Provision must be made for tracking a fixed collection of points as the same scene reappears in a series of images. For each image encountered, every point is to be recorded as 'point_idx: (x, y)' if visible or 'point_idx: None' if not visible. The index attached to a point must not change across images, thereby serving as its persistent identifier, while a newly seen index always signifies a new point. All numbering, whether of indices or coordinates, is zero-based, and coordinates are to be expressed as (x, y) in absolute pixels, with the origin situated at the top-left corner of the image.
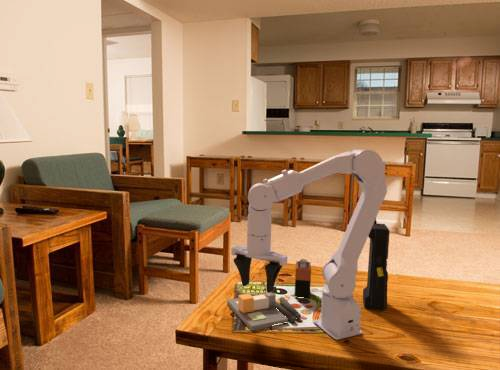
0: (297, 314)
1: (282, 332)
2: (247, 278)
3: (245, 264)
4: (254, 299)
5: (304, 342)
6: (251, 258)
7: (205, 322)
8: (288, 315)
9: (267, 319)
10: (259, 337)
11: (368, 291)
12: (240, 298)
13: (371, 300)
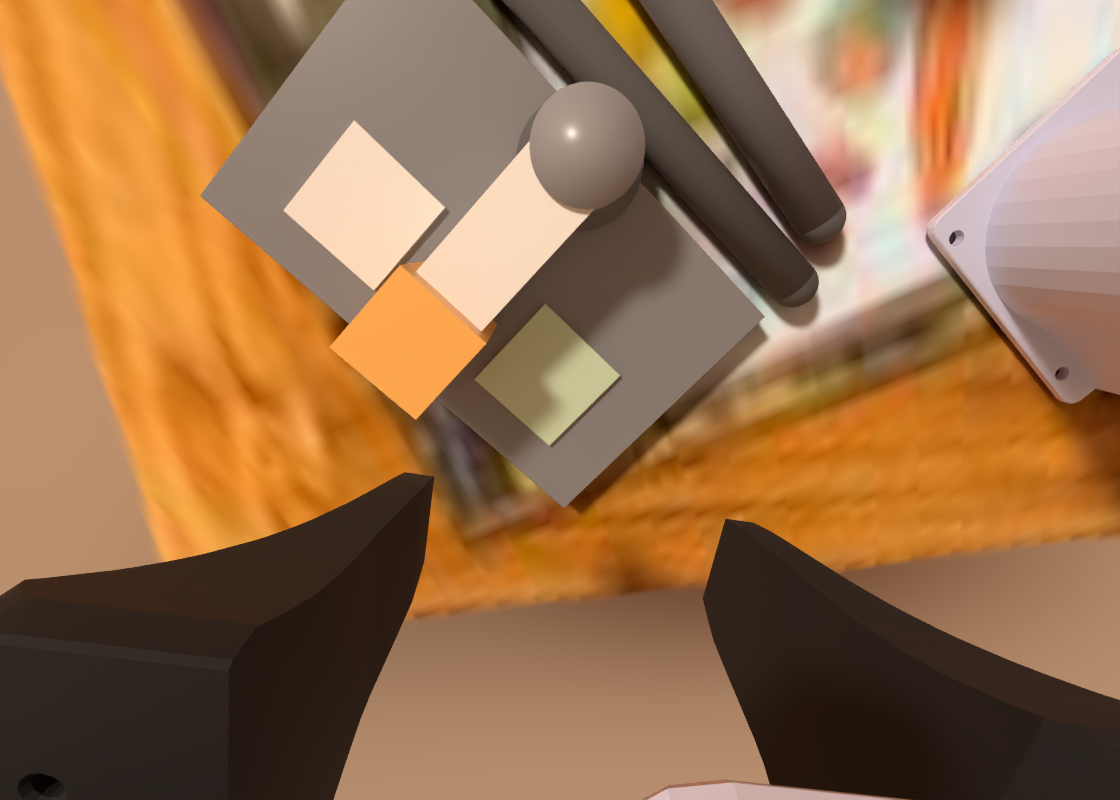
0: (827, 233)
1: (739, 435)
2: (409, 546)
3: (310, 794)
4: (484, 309)
5: (877, 488)
6: (285, 627)
7: (261, 511)
8: (760, 268)
9: (629, 385)
10: (628, 536)
11: None
12: (373, 379)
13: None
